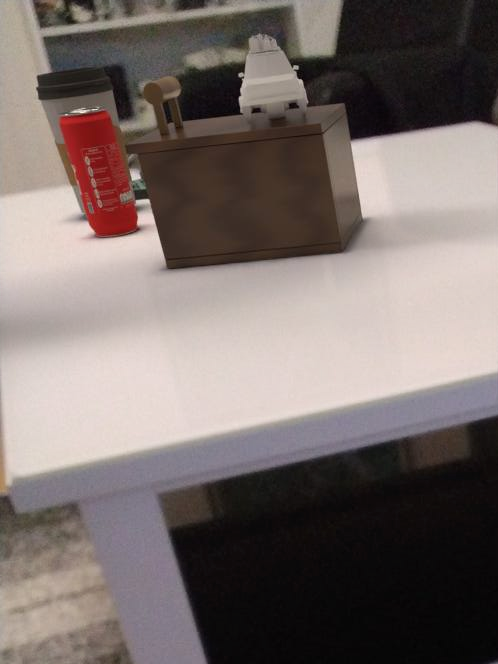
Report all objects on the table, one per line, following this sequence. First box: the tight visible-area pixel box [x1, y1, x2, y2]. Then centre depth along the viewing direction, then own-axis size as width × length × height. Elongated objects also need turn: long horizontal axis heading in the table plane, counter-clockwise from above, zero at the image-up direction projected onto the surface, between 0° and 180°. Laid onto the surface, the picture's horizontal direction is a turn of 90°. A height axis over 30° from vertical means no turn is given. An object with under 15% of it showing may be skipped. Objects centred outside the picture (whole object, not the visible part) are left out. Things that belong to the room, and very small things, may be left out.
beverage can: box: [59, 107, 139, 238], centre depth 109 cm, size 5×5×12 cm
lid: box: [124, 75, 347, 156], centre depth 93 cm, size 18×14×5 cm
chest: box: [137, 112, 364, 270], centre depth 97 cm, size 17×14×10 cm
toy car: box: [237, 32, 309, 124], centre depth 91 cm, size 6×12×7 cm, turn 10°
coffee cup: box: [35, 66, 137, 219], centre depth 118 cm, size 8×8×15 cm
